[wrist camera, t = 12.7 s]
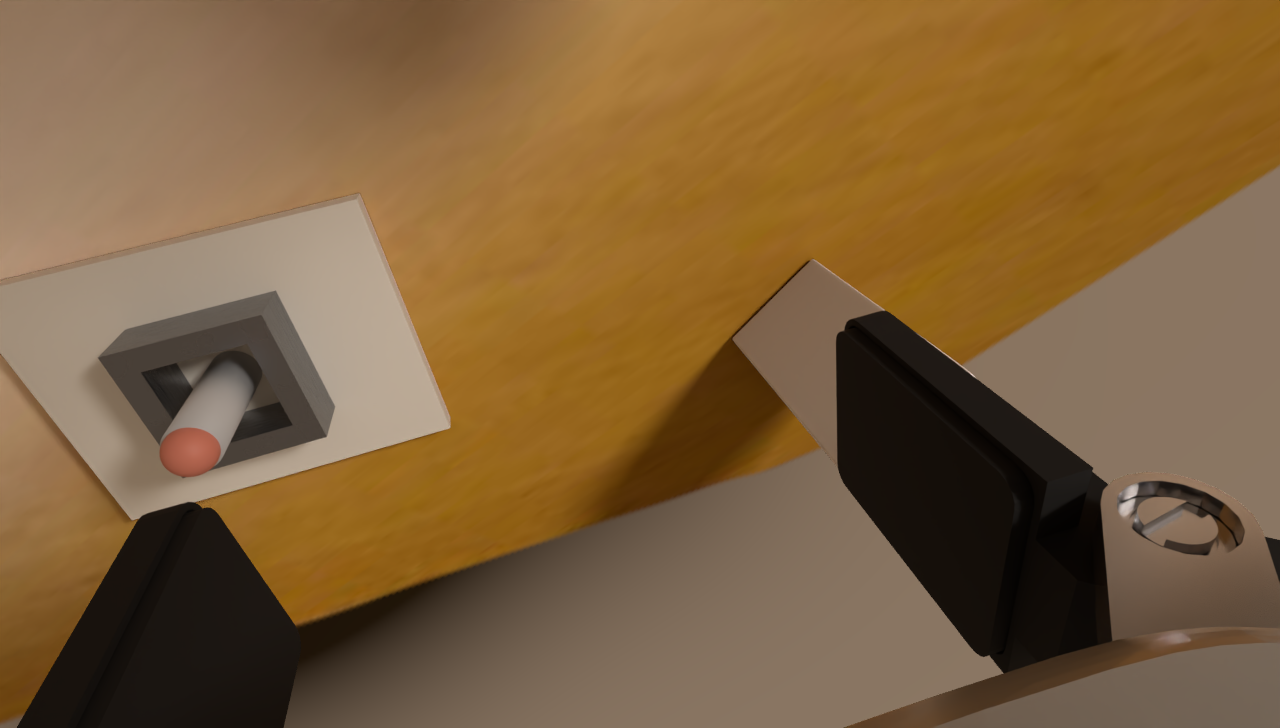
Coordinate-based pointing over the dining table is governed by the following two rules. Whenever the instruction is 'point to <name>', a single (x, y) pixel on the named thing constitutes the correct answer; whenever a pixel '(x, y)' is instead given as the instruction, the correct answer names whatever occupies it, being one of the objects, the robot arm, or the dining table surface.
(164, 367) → the grey square socket block
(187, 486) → the white peg stand
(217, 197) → the dining table surface
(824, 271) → the milk carton
